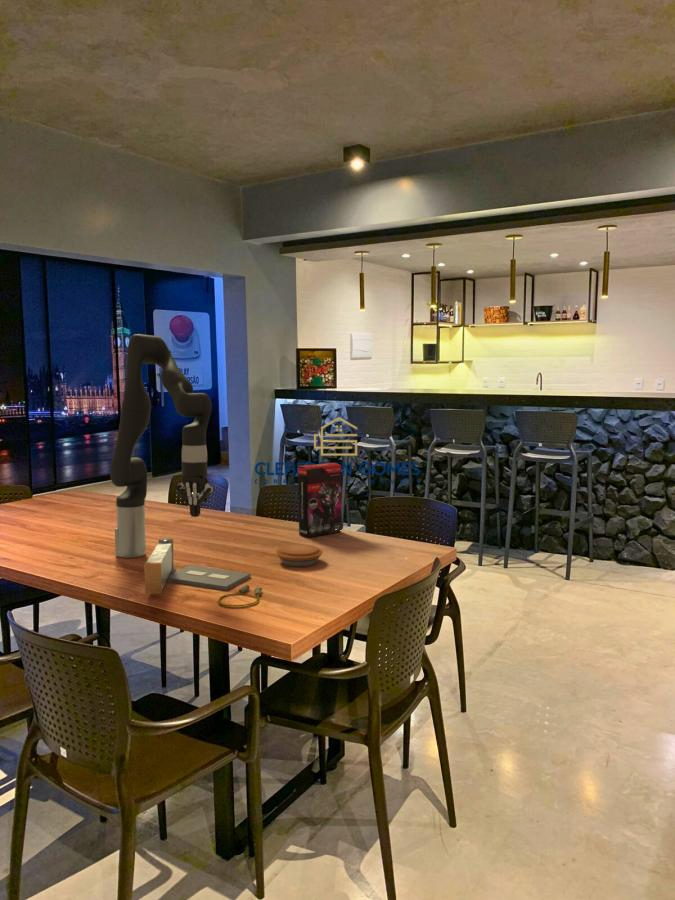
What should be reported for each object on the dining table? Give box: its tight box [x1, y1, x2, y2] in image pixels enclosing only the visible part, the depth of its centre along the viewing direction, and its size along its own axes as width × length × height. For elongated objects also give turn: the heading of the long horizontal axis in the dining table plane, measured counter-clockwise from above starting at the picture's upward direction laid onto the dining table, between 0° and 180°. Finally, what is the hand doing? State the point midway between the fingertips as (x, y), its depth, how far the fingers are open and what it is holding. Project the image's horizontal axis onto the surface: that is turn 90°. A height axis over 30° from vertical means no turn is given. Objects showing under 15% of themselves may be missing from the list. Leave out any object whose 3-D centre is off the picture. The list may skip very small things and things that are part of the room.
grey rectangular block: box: [143, 537, 175, 594], centre depth 201 cm, size 27×4×9 cm, turn 6°
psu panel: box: [166, 564, 252, 591], centre depth 208 cm, size 29×14×1 cm, turn 67°
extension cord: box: [217, 584, 263, 609], centre depth 189 cm, size 12×16×2 cm
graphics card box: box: [297, 462, 343, 538], centre depth 265 cm, size 17×7×27 cm, turn 128°
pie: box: [275, 543, 323, 568], centre depth 227 cm, size 16×16×5 cm
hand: (195, 516), depth 206 cm, fingers closed
